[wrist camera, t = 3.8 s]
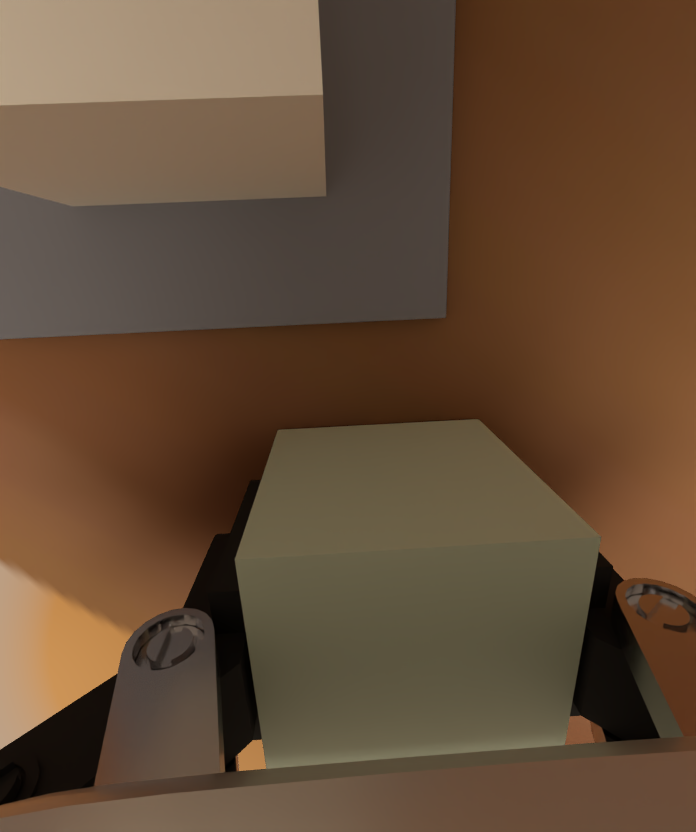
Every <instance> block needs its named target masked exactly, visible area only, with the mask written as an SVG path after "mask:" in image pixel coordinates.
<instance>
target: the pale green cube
mask: <svg viewBox="0 0 696 832" xmlns="http://www.w3.org/2000/svg"><path fill="white" fill-rule="evenodd" d="M600 541H601V536H600V535H599V534H598V533H597V532H596V531H595V530H594V529H592V528H591V527H590V526H589V525H588V524H587V523H586V522H585V521H584V520H583V519H582V518H581V517H580V516H579V515H578V514H577V513H576V512H575V511H574V510H573V509H572V508H571V507H570V506H569V505H567V504H566V503H565V502H564V501H563V500H562V499H561V498H560V497H559V496H558V495H557V494H556V493H555V492H554V491H553V490H552V489H551V488H550V487H549V486H548V485H547V484H546V483H545V482H544V481H542V480H541V479H540V478H539V477H538V476H537V475H536V474H535V473H534V472H533V471H532V470H531V469H530V468H529V467H528V466H527V465H526V464H525V463H524V462H523V461H522V460H521V459H520V458H519V457H518V456H516V455H515V454H514V453H513V452H512V451H511V450H510V449H509V448H508V447H507V446H506V445H505V444H504V443H503V442H502V441H501V440H500V439H499V438H498V437H497V436H496V435H495V434H494V433H493V432H491V431H490V430H489V429H488V428H487V427H486V426H485V425H484V424H483V423H482V422H481V421H480V420H479V419H469V420H450V421H432V422H413V423H395V424H376V425H358V426H339V427H321V428H302V429H283V430H278V431H277V434H276V437H275V440H274V443H273V446H272V449H271V452H270V455H269V458H268V461H267V464H266V467H265V470H264V473H263V476H262V479H261V482H260V485H259V488H258V491H257V494H256V497H255V500H254V503H253V506H252V509H251V512H250V515H249V518H248V521H247V524H246V527H245V530H244V533H243V536H242V539H241V542H240V545H239V548H238V551H237V554H236V557H235V565H236V571H237V578H238V585H239V591H240V598H241V604H242V611H243V617H244V624H245V631H246V637H247V644H248V650H249V657H250V663H251V670H252V677H253V683H254V690H255V696H256V703H257V709H258V716H259V723H260V729H261V736H262V742H263V748H264V755H265V762H266V769H272V768H284V767H296V766H307V765H319V764H331V763H343V762H355V761H367V760H379V759H392V758H404V757H417V756H430V755H443V754H455V753H468V752H481V751H494V750H507V749H520V748H533V747H547V746H560V745H565V740H566V735H567V729H568V723H569V718H570V712H571V706H572V701H573V695H574V689H575V684H576V678H577V672H578V666H579V661H580V655H581V649H582V644H583V638H584V632H585V627H586V621H587V615H588V610H589V604H590V598H591V592H592V587H593V581H594V575H595V570H596V564H597V558H598V553H599V547H600Z"/></svg>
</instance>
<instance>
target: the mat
mask: <svg viewBox="0 0 696 832" xmlns="http://www.w3.org/2000/svg"><path fill="white" fill-rule="evenodd" d="M318 8H319V28H320V47H321V66H322V85H323V111H324V141H325V171H326V196H321V197H296V198H271V199H246V200H221V201H196V202H171V203H146V204H121V205H96V206H69V205H66V204H62V203H58V202H55V201H51V200H47V199H43V198H40V197H36V196H32V195H29V194H25V193H21V192H17V191H14V190H10V189H6V188H3V187H0V339H16V338H37V337H57V336H78V335H99V334H120V333H140V332H161V331H182V330H202V329H223V328H244V327H265V326H285V325H306V324H327V323H348V322H368V321H389V320H410V319H431V318H446V305H447V273H448V241H449V209H450V176H451V144H452V112H453V79H454V47H455V15H456V0H318Z"/></svg>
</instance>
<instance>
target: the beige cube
mask: <svg viewBox="0 0 696 832" xmlns="http://www.w3.org/2000/svg"><path fill="white" fill-rule="evenodd" d="M0 187H3V188H6V189H10V190H14V191H17V192H21V193H25V194H29V195H32V196H36V197H40V198H43V199H47V200H51V201H55V202H58V203H62V204H66V205H69V206H96V205H121V204H146V203H171V202H196V201H221V200H246V199H271V198H296V197H321V196H326V171H325V141H324V111H323V85H322V66H321V47H320V28H319V8H318V0H0Z"/></svg>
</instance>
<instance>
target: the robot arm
mask: <svg viewBox="0 0 696 832" xmlns="http://www.w3.org/2000/svg"><path fill="white" fill-rule="evenodd" d="M260 482H261V480H251V481H250V483H249V486H248V488H247V491H246V493H245V496H244V499H243V501H242V504H241V507H240V509H239V512H238V514H237V517H236V520H235V522H234V525H233V527H232V530H231V533H227V534H217V535H215V537H214V539H213V541H212V543H211V545H210V548H209V550H208V552H207V554H206V557H205V559H204V561H203V564H202V566H201V568H200V570H199V573H198V575H197V577H196V580H195V582H194V584H193V586H192V589H191V591H190V593H189V596H188V598H187V600H186V602H185V605H184V607H183V608H182V609H175V610H171V611H168V612H165V613H162V614H159V615H157V616H156V617H154V618H152V619H150V620H149V621H147V622H145V623H144V624H143V625H142V626H141V627H139V628H138V629H137V630H136V631H135V632H134V633H133V634H132V636H131V637H130V638H129V640H128V641H127V642H126V644H125V647H124V650H123V652H122V655H121V660H120V665H119V669H118V674H116V675H115V676H113V677H112V678H110V679H108V680H107V681H105V682H104V683H102V684H101V685H99V686H98V687H96V688H95V689H93V690H92V691H90V692H89V693H87V694H85V695H84V696H82V697H81V698H79V699H78V700H76V701H75V702H73V703H72V704H70V705H68V706H67V707H65V708H64V709H62V710H61V711H59V712H58V713H56V714H55V715H53V716H52V717H50V718H49V719H47V720H46V721H44V722H42V723H41V724H39V725H38V726H36V727H35V728H33V729H32V730H30V731H28V732H27V733H25V734H24V735H22V736H21V737H20V738H18V739H16V740H15V741H13V742H12V743H10V744H8V745H7V746H5V747H4V748H2V749H1V750H0V832H696V597H695V596H694V595H692V594H691V593H689V592H687V591H685V590H683V589H681V588H679V587H677V586H674V585H671V584H668V583H665V582H662V581H658V580H653V579H648V578H633V579H628V580H623V579H622V578H621V577H620V576H619V575H618V573H617V572H616V571H615V570H614V569H613V566H612V565H611V564H610V563H609V562H608V561H607V560H606V559H605V558H604V556H603V555H602V554H601V553H600V552H599V553H598V558H597V564H596V570H595V575H594V581H593V587H592V592H591V598H590V604H589V610H588V615H587V621H586V627H585V632H584V638H583V644H582V649H581V655H580V661H579V666H578V672H577V678H576V684H575V689H574V695H573V701H572V706H571V712H570V716H579V715H581V716H583V717H585V718H586V719H588V720H590V723H591V731H592V734H593V738H594V741H595V743H586V744H573V745H560V746H547V747H533V748H520V749H507V750H494V751H481V752H468V753H455V754H443V755H430V756H417V757H404V758H392V759H379V760H367V761H355V762H343V763H331V764H319V765H307V766H296V767H284V768H272V769H261V770H248V771H239V764H238V753H240V752H241V751H242V750H243V749H244V748H245V747H246V746H247V745H248V744H249V743H250V742H251V741H252V740H261V739H262V736H261V729H260V723H259V716H258V709H257V703H256V696H255V690H254V683H253V677H252V670H251V663H250V657H249V650H248V644H247V637H246V631H245V624H244V617H243V611H242V604H241V598H240V591H239V585H238V578H237V571H236V565H235V557H236V554H237V551H238V548H239V545H240V542H241V539H242V536H243V533H244V530H245V527H246V524H247V521H248V518H249V515H250V512H251V509H252V506H253V503H254V500H255V497H256V494H257V491H258V488H259V485H260Z"/></svg>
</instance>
